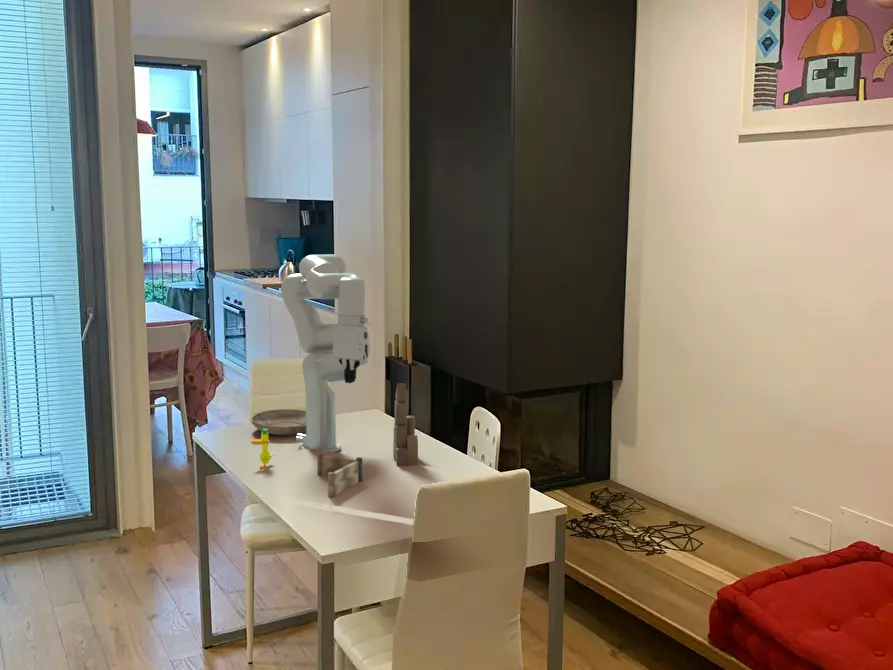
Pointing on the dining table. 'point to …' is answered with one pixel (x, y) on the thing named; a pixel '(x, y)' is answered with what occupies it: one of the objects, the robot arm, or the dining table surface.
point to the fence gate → (342, 479)
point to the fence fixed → (336, 464)
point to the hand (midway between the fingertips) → (350, 381)
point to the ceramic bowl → (281, 421)
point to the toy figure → (263, 448)
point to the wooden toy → (404, 431)
